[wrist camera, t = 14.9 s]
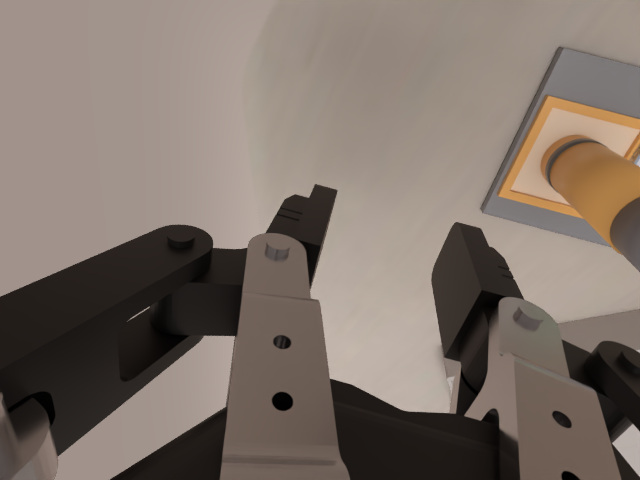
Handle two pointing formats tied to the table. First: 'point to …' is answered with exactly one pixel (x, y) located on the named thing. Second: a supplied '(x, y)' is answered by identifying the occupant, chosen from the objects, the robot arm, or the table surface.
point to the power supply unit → (587, 333)
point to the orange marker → (598, 190)
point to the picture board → (561, 121)
